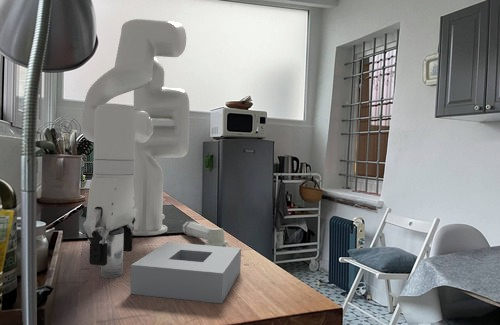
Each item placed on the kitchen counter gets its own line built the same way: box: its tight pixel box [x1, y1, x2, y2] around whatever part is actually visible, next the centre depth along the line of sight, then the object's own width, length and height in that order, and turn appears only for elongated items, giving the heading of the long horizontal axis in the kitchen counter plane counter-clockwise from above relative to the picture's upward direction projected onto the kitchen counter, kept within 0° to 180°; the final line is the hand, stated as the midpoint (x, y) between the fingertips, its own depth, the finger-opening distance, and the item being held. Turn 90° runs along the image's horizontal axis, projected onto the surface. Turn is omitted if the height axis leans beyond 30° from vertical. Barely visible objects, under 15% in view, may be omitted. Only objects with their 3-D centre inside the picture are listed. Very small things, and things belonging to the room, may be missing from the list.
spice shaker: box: [100, 227, 124, 279], centre depth 72 cm, size 4×4×9 cm
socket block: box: [130, 241, 242, 304], centre depth 69 cm, size 16×16×5 cm
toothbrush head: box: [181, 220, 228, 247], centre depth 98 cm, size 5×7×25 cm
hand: (112, 257), depth 71 cm, fingers open, 9 cm apart
